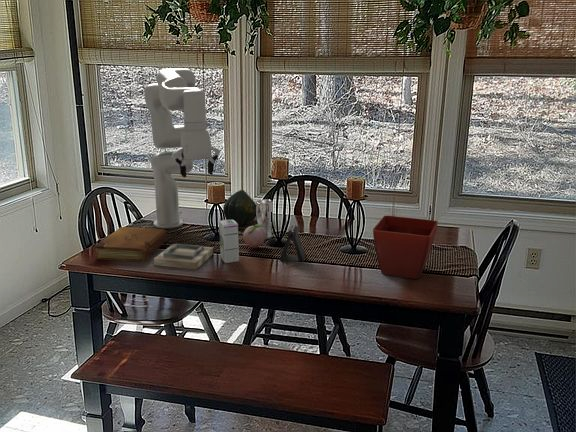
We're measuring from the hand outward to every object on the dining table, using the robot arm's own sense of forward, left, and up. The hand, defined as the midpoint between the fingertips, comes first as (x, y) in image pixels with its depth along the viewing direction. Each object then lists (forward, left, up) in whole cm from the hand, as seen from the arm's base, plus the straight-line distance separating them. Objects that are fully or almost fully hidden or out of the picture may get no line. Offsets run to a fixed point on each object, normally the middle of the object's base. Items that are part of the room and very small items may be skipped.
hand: (197, 175), depth 204 cm
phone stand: (-8, +33, -31) cm, 46 cm away
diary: (-1, -28, -32) cm, 43 cm away
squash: (-45, 0, -31) cm, 55 cm away
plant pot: (-7, +73, -31) cm, 80 cm away
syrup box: (-1, +11, -31) cm, 33 cm away
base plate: (+3, -5, -31) cm, 32 cm away
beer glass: (-29, +16, -31) cm, 46 cm away
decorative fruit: (-15, +16, -31) cm, 38 cm away
